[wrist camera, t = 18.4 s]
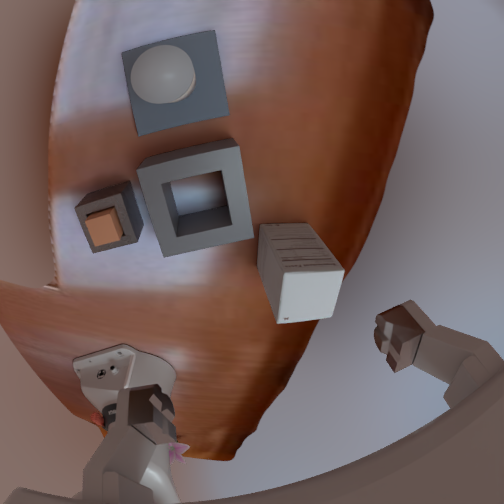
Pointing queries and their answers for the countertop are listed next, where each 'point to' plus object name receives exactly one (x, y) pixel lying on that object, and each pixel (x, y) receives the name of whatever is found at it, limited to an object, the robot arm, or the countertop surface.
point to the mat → (201, 99)
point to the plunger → (104, 226)
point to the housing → (205, 222)
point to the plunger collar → (125, 209)
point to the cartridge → (163, 75)
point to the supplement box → (297, 272)
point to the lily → (177, 452)
